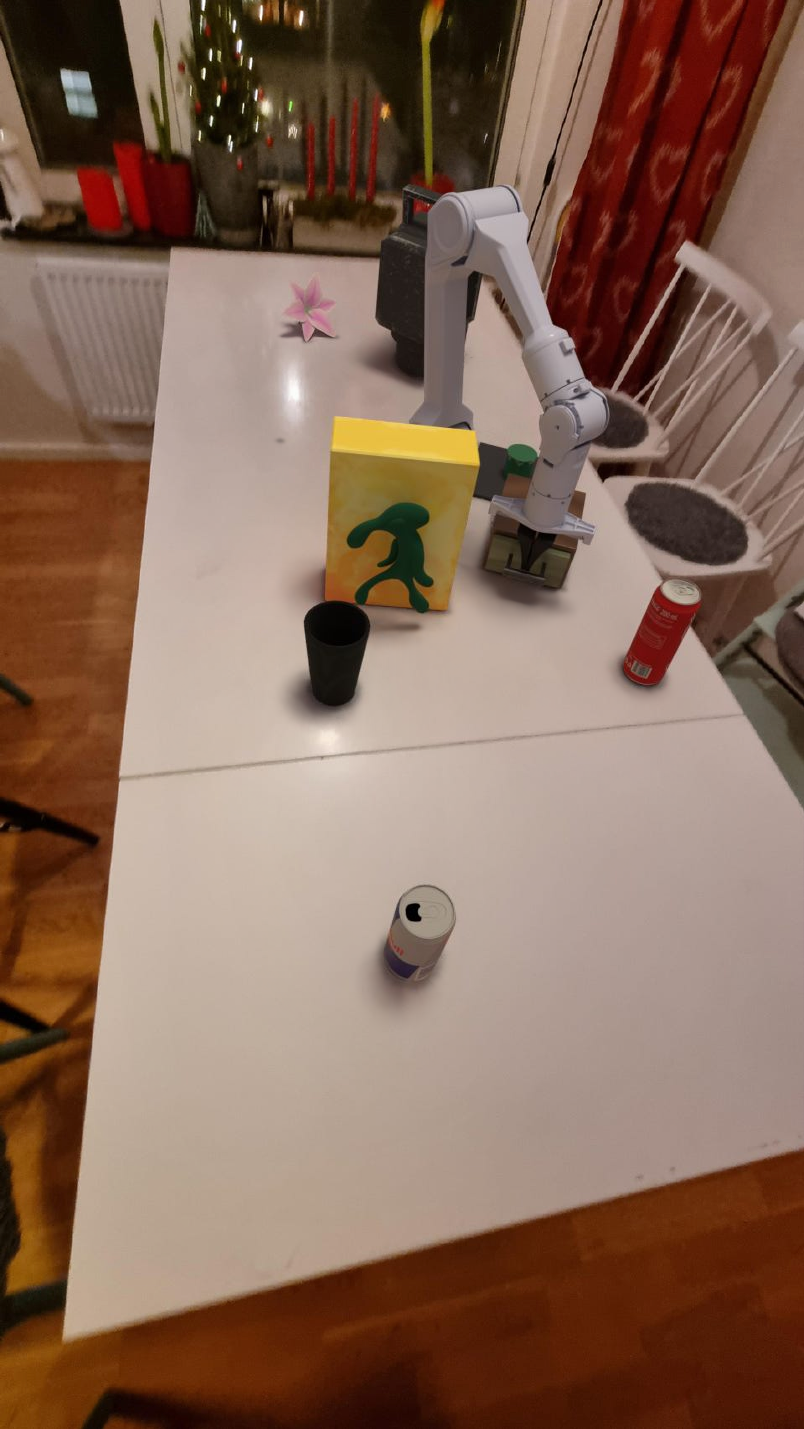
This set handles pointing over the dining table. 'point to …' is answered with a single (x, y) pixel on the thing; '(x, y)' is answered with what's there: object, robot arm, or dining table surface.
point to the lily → (311, 307)
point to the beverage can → (662, 630)
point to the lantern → (411, 283)
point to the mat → (492, 471)
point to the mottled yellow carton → (397, 511)
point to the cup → (335, 649)
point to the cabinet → (509, 527)
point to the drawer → (509, 562)
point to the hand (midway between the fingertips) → (526, 566)
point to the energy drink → (419, 932)
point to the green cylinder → (519, 460)
